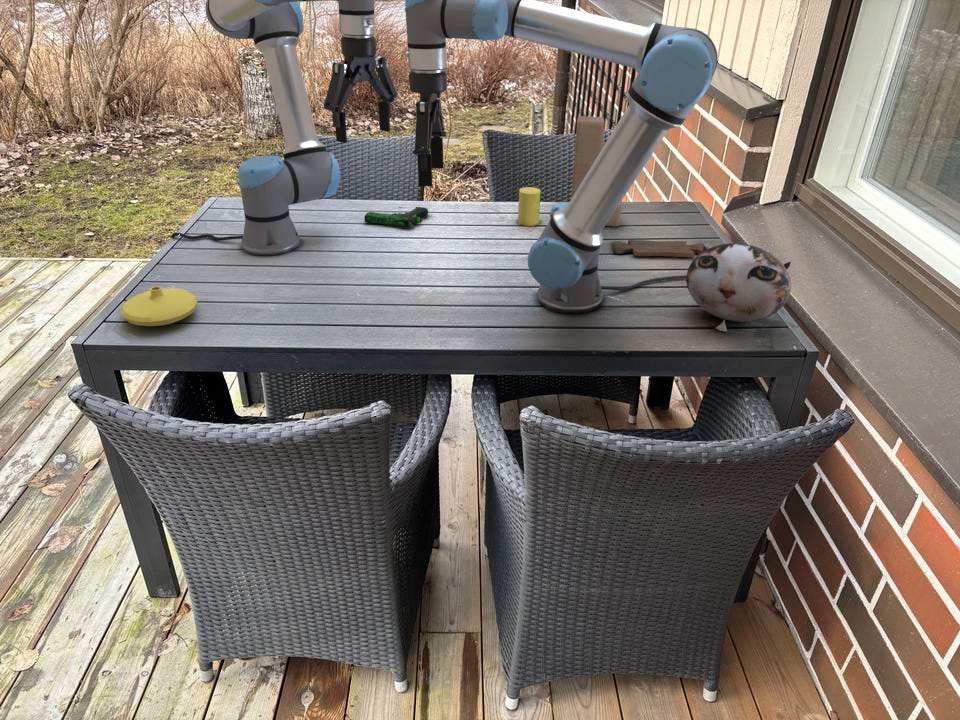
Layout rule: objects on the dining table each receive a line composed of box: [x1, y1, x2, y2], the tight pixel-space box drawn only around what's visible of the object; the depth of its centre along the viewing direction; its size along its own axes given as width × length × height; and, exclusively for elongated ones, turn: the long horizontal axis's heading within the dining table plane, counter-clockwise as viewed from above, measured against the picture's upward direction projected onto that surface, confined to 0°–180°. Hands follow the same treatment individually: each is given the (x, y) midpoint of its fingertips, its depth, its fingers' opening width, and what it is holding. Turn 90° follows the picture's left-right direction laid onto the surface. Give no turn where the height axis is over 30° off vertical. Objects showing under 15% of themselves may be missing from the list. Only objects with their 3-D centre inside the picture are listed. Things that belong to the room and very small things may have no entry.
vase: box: [120, 286, 198, 327], centre depth 157 cm, size 16×16×7 cm
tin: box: [517, 186, 542, 227], centre depth 213 cm, size 6×6×10 cm
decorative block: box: [570, 115, 623, 227], centre depth 209 cm, size 8×15×30 cm, turn 82°
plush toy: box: [685, 242, 792, 332], centre depth 158 cm, size 22×18×20 cm
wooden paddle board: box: [611, 239, 706, 258], centre depth 197 cm, size 26×2×10 cm
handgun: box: [363, 206, 429, 230], centre depth 215 cm, size 16×3×15 cm
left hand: (363, 136), depth 164 cm, fingers open, 13 cm apart
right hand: (431, 176), depth 152 cm, fingers open, 13 cm apart
